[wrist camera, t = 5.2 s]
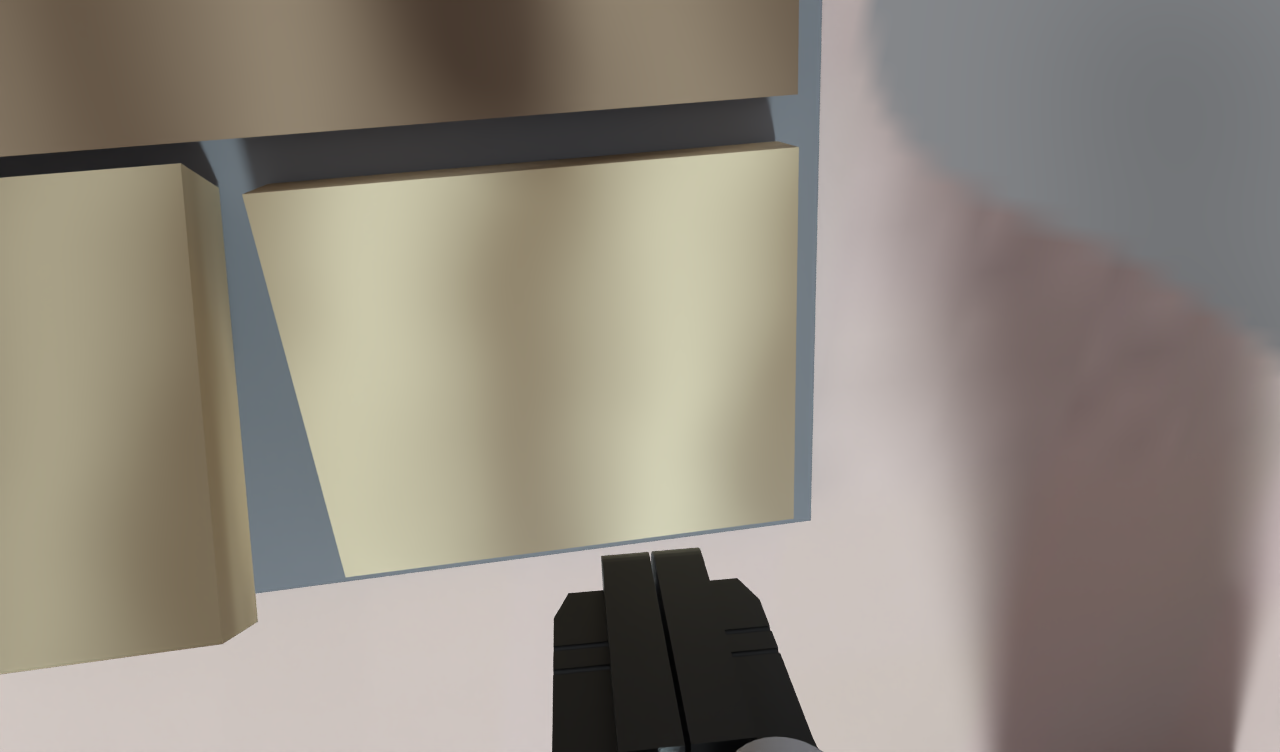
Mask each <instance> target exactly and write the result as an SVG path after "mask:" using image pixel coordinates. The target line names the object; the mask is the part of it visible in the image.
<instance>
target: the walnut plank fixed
mask: <svg viewBox="0 0 1280 752" xmlns="http://www.w3.org/2000/svg"><path fill="white" fill-rule="evenodd" d="M798 47H799V0H0V157H4V156H17V155H29V154H42V153H55V152H68V151H81V150H93V149H106V148H119V147H132V146H145V145H157V144H170V143H183V142H196V141H208V140H221V139H234V138H247V137H260V136H272V135H285V134H298V133H311V132H324V131H336V130H349V129H362V128H375V127H388V126H400V125H413V124H426V123H439V122H452V121H464V120H477V119H490V118H503V117H515V116H528V115H541V114H554V113H567V112H579V111H592V110H605V109H618V108H631V107H643V106H656V105H669V104H682V103H695V102H707V101H720V100H733V99H746V98H759V97H771V96H784V95H797V94H798Z"/></svg>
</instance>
